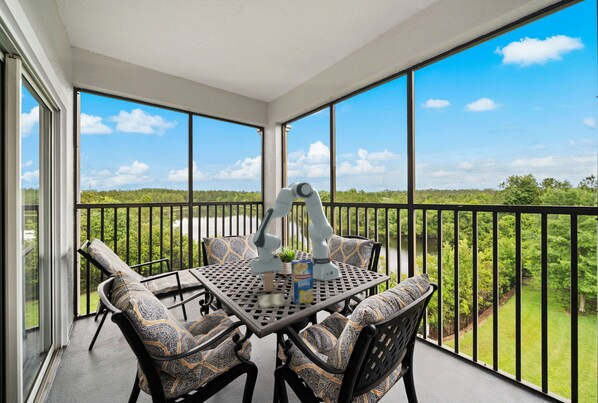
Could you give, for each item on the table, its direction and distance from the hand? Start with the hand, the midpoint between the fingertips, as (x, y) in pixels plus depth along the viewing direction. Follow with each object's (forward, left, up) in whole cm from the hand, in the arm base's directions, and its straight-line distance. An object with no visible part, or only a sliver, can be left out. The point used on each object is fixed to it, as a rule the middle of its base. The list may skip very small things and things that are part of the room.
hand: (268, 279), depth 157 cm
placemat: (0, +14, -8) cm, 16 cm away
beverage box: (-17, +17, -8) cm, 25 cm away
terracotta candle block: (0, -1, -6) cm, 6 cm away
